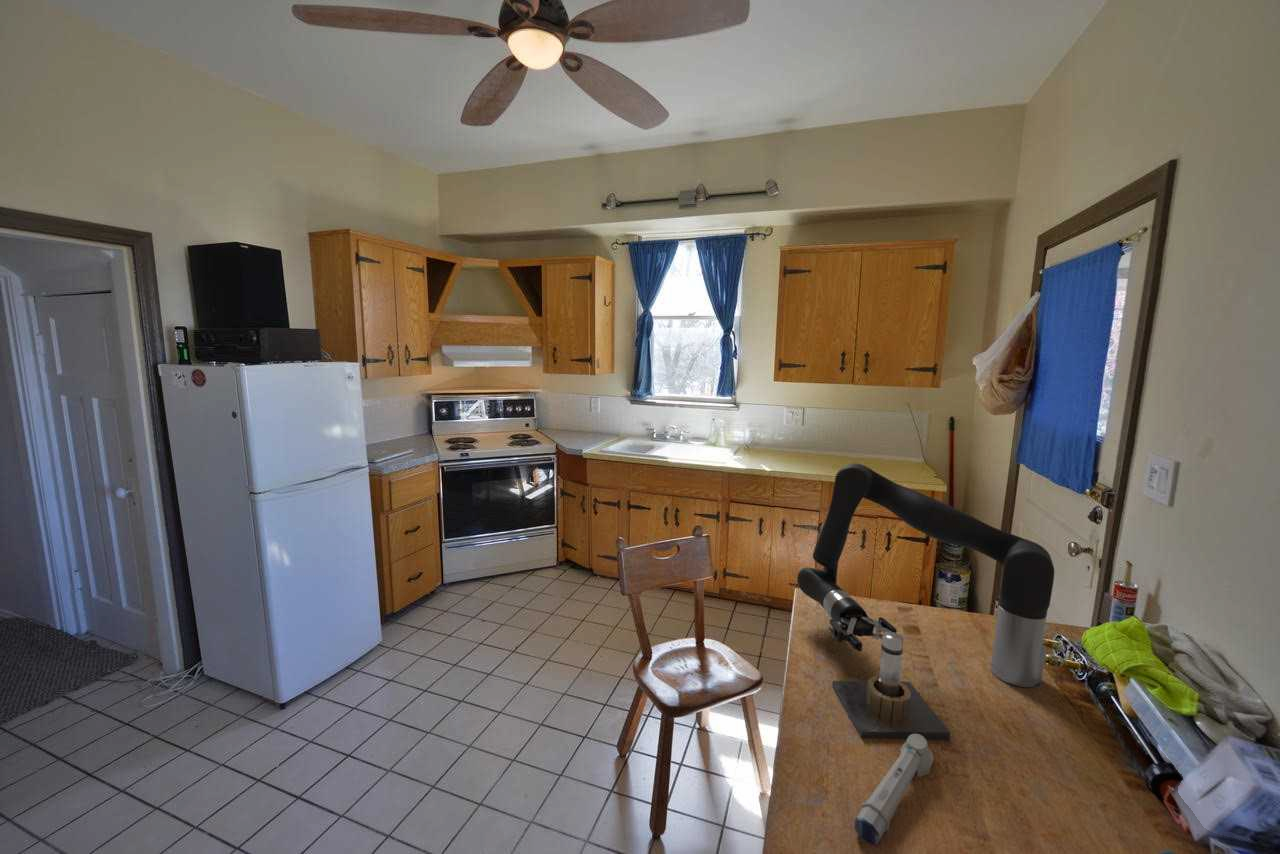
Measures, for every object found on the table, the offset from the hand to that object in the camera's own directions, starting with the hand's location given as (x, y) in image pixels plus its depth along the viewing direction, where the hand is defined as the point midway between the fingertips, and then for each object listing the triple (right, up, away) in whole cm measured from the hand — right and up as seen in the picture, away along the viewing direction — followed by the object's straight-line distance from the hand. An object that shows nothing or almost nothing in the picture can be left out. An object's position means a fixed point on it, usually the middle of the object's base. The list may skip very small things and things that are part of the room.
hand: (878, 647), depth 115 cm
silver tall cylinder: (0, -11, -3) cm, 12 cm away
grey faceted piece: (-8, -16, -24) cm, 30 cm away
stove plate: (0, -13, -3) cm, 13 cm away
